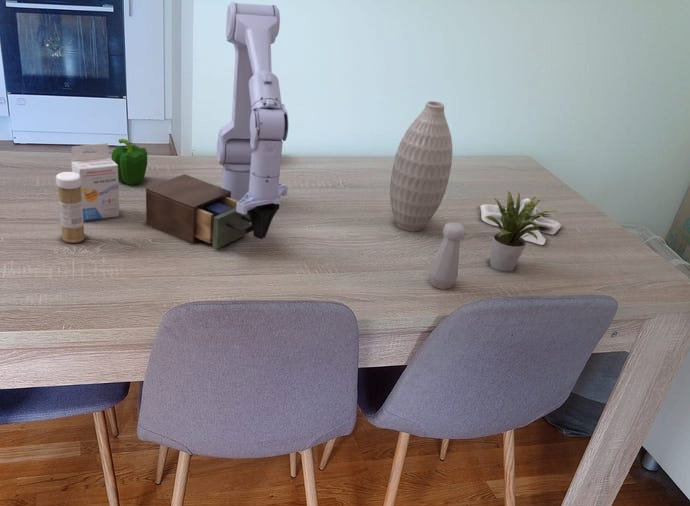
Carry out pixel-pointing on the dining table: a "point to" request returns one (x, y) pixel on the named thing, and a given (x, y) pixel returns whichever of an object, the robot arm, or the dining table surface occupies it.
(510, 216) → the house plant
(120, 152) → the bell pepper
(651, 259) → the dining table surface
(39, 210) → the dining table surface
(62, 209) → the sprinkles bottle
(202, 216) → the drawer
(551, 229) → the cloth
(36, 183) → the dining table surface
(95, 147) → the ink box
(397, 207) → the vase
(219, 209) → the box
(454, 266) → the salt shaker
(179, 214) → the cabinet
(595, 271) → the dining table surface
